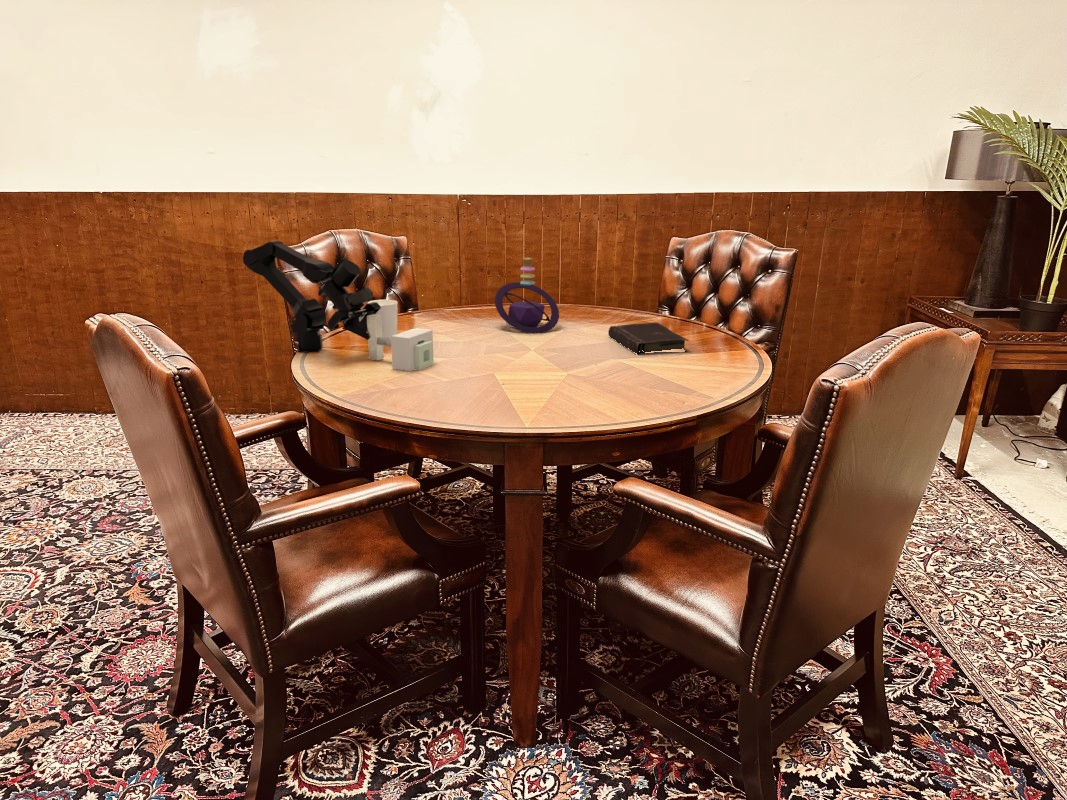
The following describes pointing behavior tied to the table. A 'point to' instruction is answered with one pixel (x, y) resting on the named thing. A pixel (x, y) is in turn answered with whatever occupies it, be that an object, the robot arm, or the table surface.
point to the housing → (408, 347)
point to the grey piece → (376, 337)
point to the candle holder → (388, 317)
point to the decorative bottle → (526, 305)
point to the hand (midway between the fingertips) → (372, 337)
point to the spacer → (419, 350)
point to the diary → (646, 337)
